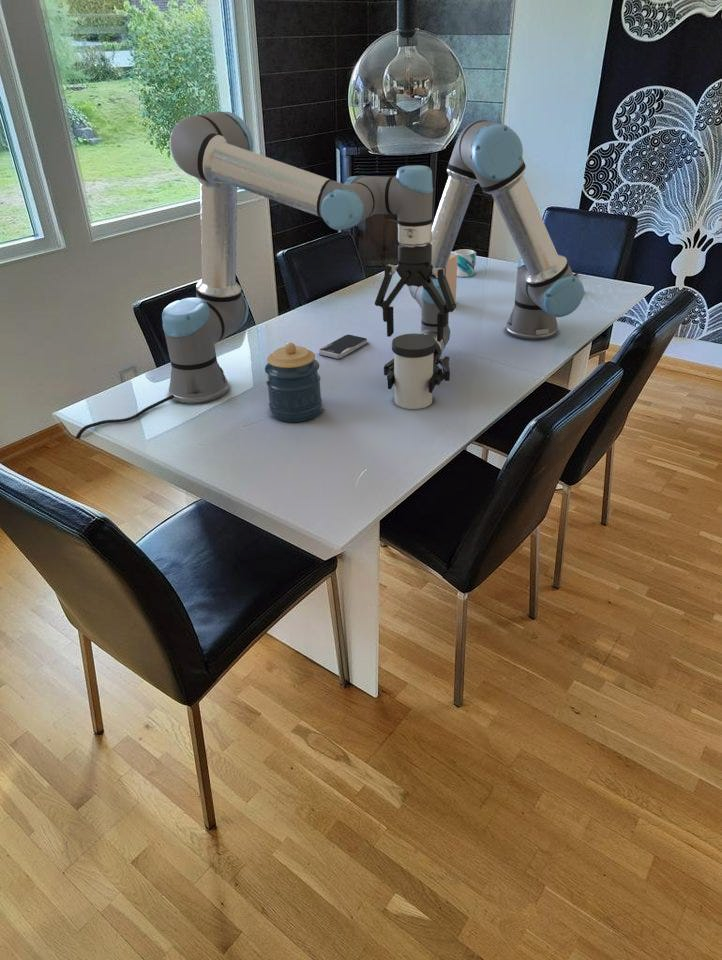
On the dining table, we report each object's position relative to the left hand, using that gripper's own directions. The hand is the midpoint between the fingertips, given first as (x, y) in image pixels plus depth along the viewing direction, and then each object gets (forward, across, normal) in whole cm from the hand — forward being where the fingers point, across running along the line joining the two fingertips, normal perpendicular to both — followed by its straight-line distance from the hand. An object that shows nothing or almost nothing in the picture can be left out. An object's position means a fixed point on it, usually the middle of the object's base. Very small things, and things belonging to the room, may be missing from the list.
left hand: (414, 337), depth 160 cm
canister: (+17, -26, -14) cm, 34 cm away
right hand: (+11, 0, -4) cm, 12 cm away
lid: (+1, 0, 0) cm, 1 cm away
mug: (+17, -15, +113) cm, 115 cm away
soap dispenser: (+17, -14, +75) cm, 78 cm away
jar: (+17, 0, 0) cm, 17 cm away
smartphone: (+16, -31, +27) cm, 44 cm away
